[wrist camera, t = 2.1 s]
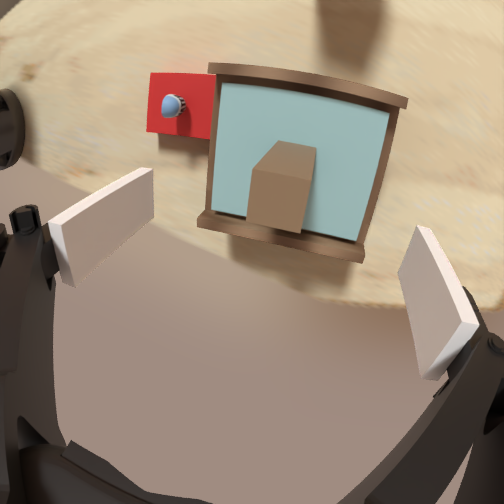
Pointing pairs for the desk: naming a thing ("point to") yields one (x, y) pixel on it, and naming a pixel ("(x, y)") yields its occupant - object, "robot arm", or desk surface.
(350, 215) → the lid
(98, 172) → the desk surface
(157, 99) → the red knobbed tile
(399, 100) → the walnut box
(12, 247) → the robot arm
